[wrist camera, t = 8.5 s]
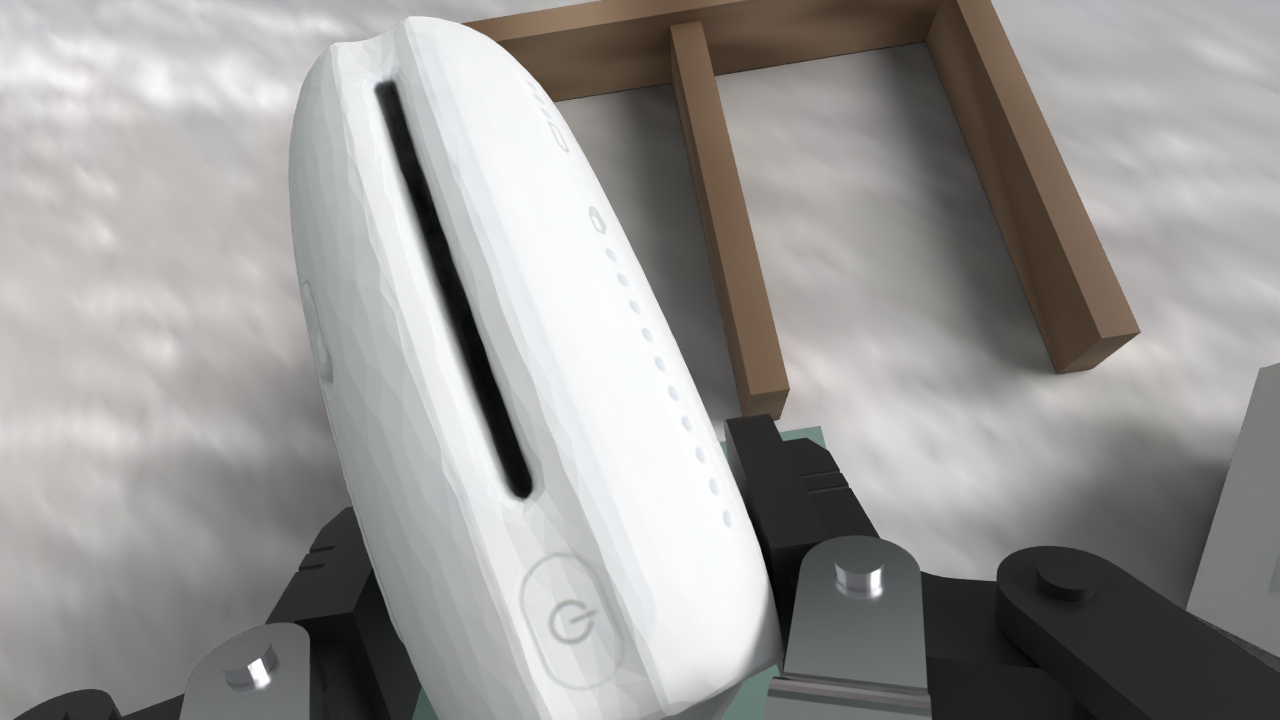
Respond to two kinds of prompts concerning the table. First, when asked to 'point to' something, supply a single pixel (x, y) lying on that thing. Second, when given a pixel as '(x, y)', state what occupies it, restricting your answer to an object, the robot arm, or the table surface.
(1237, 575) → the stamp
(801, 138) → the table surface
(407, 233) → the photo printer
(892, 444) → the table surface
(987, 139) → the lane rack
